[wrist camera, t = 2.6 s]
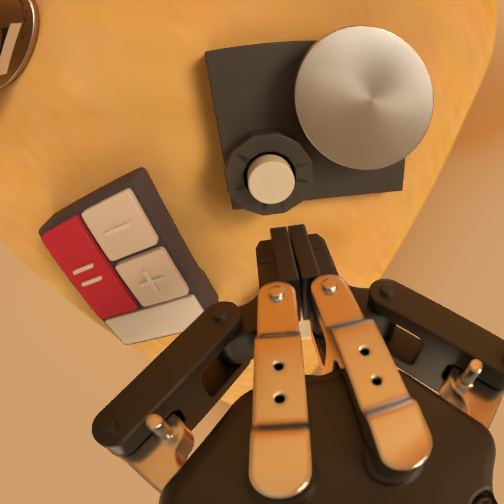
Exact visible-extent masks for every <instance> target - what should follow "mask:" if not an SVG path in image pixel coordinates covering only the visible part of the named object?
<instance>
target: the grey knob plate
mask: <svg viewBox="0 0 504 504" xmlns="http://www.w3.org/2000/svg"><path fill="white" fill-rule="evenodd" d="M317 41H318V40H317ZM317 41H289V42H275V43H263V44H254V45H245V46H238V47H230V48H224V49H218V50H212V51H206V52H205V56H206V62H207V67H208V73H209V79H210V85H211V91H212V97H213V102H214V108H215V114H216V119H217V125H218V131H219V136H220V142H221V148H222V153H223V159H224V164H225V178H226V183H227V189H228V192H229V194H230V197H231V203H232V208H233V210H234V209H242V208H243V209H246V210H249V211H251V212H254V213H257V214H260V215H270V214H278V213H284V212H287V211H288V210H290V209H291V208H293V207H294V206H296V205H297V204H299V203H300V202H302V201H303V200H312V199H321V198H330V197H339V196H349V195H359V194H369V193H380V192H391V191H402V188H403V177H404V166H405V158H403V159H402V160H400V161H398V162H397V163H395V164H392V165H390V166H387V167H384V168H380V169H373V170H359V169H352V168H349V167H345V166H342V165H340V164H337V163H335V162H334V161H332V160H330V159H328V158H327V157H326V156H324V155H323V154H322V153H320V152H319V151H318V150H317V149H316V148H315V147H314V146H313V144H312V143H311V142H310V141H309V139H308V138H307V137H306V135H305V133H304V132H303V130H302V128H301V126H300V124H299V122H298V119H297V116H296V113H295V108H294V102H293V87H294V80H295V75H296V72H297V69H298V67H299V64H300V62H301V60H302V58H303V57H304V55H305V54H306V52H307V51H308V50H309V49H310V47H311V46H312V45H313V44H314V43H315V42H317ZM269 154H271V155H277V156H280V157H282V158H283V159H284V160H286V162H287V163H288V164H289V166H290V168H291V170H292V173H293V175H294V179H295V185H294V189H293V191H292V193H291V194H290V195H289V196H288V197H287V198H286V199H285V200H283V201H281V202H279V203H275V204H267V203H263V202H260V201H258V200H257V199H255V198H254V197H253V196H252V194H251V193H250V190H249V187H248V177H247V173H248V169H249V167H250V165H251V163H252V162H253V161H254V160H255V159H257V158H258V157H260V156H263V155H269Z"/></svg>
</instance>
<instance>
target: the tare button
mask: <svg viewBox="0 0 504 504" xmlns="http://www.w3.org/2000/svg"><path fill="white" fill-rule="evenodd" d="M247 177H248V187H249V190H250V193H251V194H252V196H253V197H254V198H255V199H257V200H258V201H260V202H263V203H267V204H275V203H279V202H281V201H283V200H285V199H286V198H287V197H288V196H289V195H290V194H291V193H292V191H293V189H294V185H295V179H294V175H293V173H292V170H291V168H290V166H289V164H288V163H287V162H286V160H284V159H283V158H282V157H280V156H277V155H271V154H269V155H263V156H260V157H258V158H257V159H255V160H254V161H253V162H252V163H251V165H250V167H249V169H248V173H247Z"/></svg>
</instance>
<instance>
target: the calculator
mask: <svg viewBox="0 0 504 504" xmlns="http://www.w3.org/2000/svg"><path fill="white" fill-rule="evenodd" d="M39 234H40V236H41V239H42V241H43V243H44V244H45V246H46V247H47V249H48V250H49V251H50V253H51V254H52V256H53V257H54V259H55V260H56V262H57V263H58V264H59V266H60V267H61V269H62V270H63V271H64V273H65V274H66V276H67V277H68V278H69V280H70V281H71V282H72V284H73V285H74V286H75V288H76V289H77V290H78V291H79V293H80V294H81V295H82V297H83V298H84V299H85V300H86V302H87V303H88V304H89V305H90V307H91V308H92V309H93V310H94V312H95V313H96V314H97V315H98V316H99V317H100V318H101V319H102V320H103V321H104V322H105V323H106V324H107V326H108V327H109V328H110V329H111V330H112V331H113V332H114V334H115V335H116V336H117V337H118V338H119V339H120V340H121V341H122V342H123V343H124V344H125V345H129V344H134V343H139V342H143V341H148V340H152V339H157V338H161V337H165V336H170V335H174V334H178V333H182V332H183V331H184V330H185V329H186V328H187V327H188V326H189V325H190V324H191V323H192V322H193V321H194V320H195V319H196V318H197V317H198V316H199V315H200V314H201V313H202V312H203V311H204V310H205V309H206V308H208V307H209V306H210V305H212V304H214V303H217V302H218V295H217V293H216V292H215V290H214V288H213V286H212V285H211V283H210V281H209V280H208V278H207V276H206V274H205V273H204V271H203V270H201V269H200V268H199V267H198V265H197V263H196V262H195V260H194V258H193V256H192V255H191V253H190V251H189V249H188V247H187V246H186V244H185V242H184V240H183V238H182V237H181V235H180V233H179V231H178V229H177V227H176V226H175V224H174V222H173V220H172V218H171V216H170V215H169V213H168V211H167V209H166V207H165V205H164V203H163V201H162V199H161V198H160V196H159V194H158V192H157V190H156V188H155V186H154V184H153V182H152V180H151V178H150V176H149V174H148V173H147V171H146V169H144V168H138V169H136V170H134V171H132V172H130V173H128V174H126V175H124V176H122V177H120V178H118V179H116V180H114V181H112V182H110V183H108V184H107V185H105V186H103V187H101V188H99V189H97V190H95V191H94V192H92V193H90V194H88V195H86V196H85V197H83V198H81V199H79V200H77V201H76V202H74V203H72V204H71V205H69V206H67V207H65V208H64V209H62V210H60V211H59V212H57V213H55V214H54V215H53V216H52V217H51V218H50V219H49V220H48V221H47V222H46V223H45V224H44V225H43V226H42V227H41V228H40V229H39Z"/></svg>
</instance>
